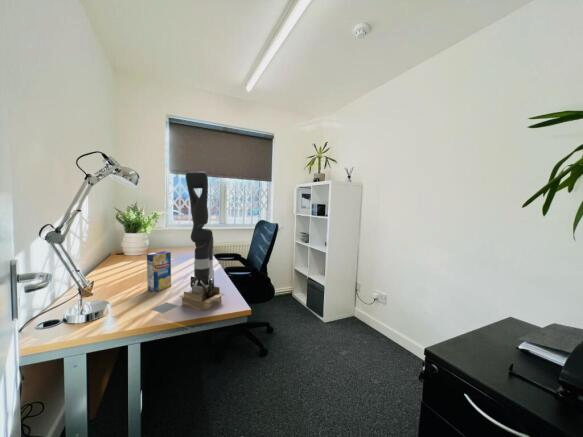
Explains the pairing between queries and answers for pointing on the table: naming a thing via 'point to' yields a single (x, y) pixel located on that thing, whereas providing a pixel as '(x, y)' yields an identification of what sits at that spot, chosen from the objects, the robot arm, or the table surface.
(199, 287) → the walnut block
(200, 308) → the kraft carton
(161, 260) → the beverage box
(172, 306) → the felt mat
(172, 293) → the table surface
